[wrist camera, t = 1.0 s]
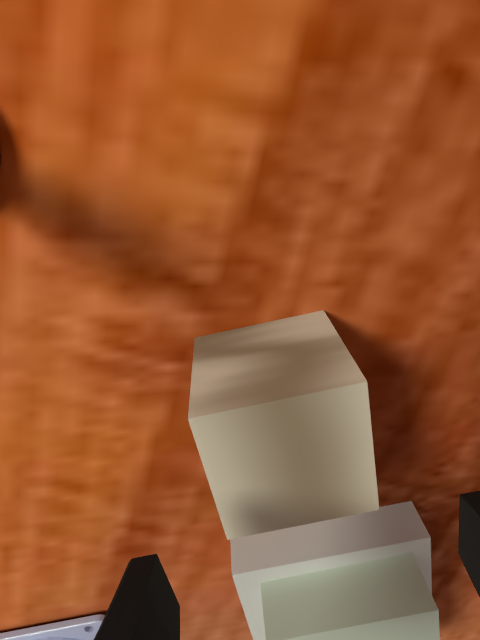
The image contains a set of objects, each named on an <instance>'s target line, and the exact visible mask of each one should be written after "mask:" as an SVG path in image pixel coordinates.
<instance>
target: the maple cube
mask: <svg viewBox="0 0 480 640" xmlns="http://www.w3.org/2000/svg"><path fill="white" fill-rule="evenodd" d="M188 421H189V424H190V427H191V430H192V433H193V436H194V439H195V442H196V445H197V448H198V451H199V454H200V457H201V460H202V464H203V467H204V470H205V473H206V476H207V479H208V482H209V485H210V488H211V491H212V494H213V497H214V500H215V503H216V506H217V510H218V513H219V516H220V519H221V522H222V525H223V528H224V531H225V534H226V537H227V540H230V539H235V538H240V537H245V536H250V535H255V534H260V533H265V532H270V531H275V530H280V529H285V528H290V527H295V526H300V525H305V524H310V523H315V522H320V521H325V520H331V519H336V518H341V517H346V516H351V515H356V514H361V513H366V512H371V511H376V510H379V501H378V490H377V480H376V469H375V459H374V448H373V437H372V427H371V416H370V405H369V395H368V384H367V380H366V379H365V377H364V375H363V374H362V372H361V371H360V369H359V367H358V366H357V364H356V362H355V361H354V359H353V357H352V356H351V354H350V353H349V351H348V349H347V348H346V346H345V344H344V343H343V341H342V339H341V338H340V336H339V335H338V333H337V331H336V330H335V328H334V326H333V325H332V323H331V321H330V320H329V318H328V317H327V315H326V313H325V312H324V310H322V311H318V312H313V313H308V314H304V315H299V316H294V317H290V318H285V319H280V320H276V321H271V322H266V323H262V324H257V325H252V326H248V327H243V328H238V329H234V330H229V331H224V332H220V333H215V334H210V335H206V336H201V337H196V338H195V342H194V354H193V366H192V378H191V389H190V401H189V413H188Z"/></svg>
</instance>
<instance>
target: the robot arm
mask: <svg viewBox="0 0 480 640" xmlns="http://www.w3.org/2000/svg"><path fill="white" fill-rule="evenodd" d="M458 553H459V555H460V557H461V559H462V561H463V564H464V566H465V568H466V570H467V572H468V574H469V576H470V578H471V581H472V583H473V585H474V587H475V589H476V591H477V593H478V595H479V597H480V491H476V492H471V493H466V494H461V495H460V507H459V551H458ZM0 640H180V605H179V603H178V601H177V599H176V596H175V594H174V592H173V590H172V587H171V585H170V583H169V581H168V578H167V576H166V574H165V572H164V569H163V567H162V565H161V562H160V560H159V558H158V556H157V554H153V555H148V556H143V557H138V558H133V559H131V560H130V562H129V563H128V566H127V568H126V570H125V572H124V575H123V577H122V579H121V582H120V584H119V586H118V588H117V591H116V593H115V595H114V597H113V599H112V602H111V604H110V606H109V608H108V610H107V613H106V615H103V614H97V615H92V616H87V617H81V618H76V619H71V620H66V621H61V622H56V623H50V624H45V625H40V626H35V627H30V628H24V629H19V630H14V631H9V632H4V633H0Z"/></svg>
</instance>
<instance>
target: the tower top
mask: <svg viewBox="0 0 480 640" xmlns="http://www.w3.org/2000/svg"><path fill="white" fill-rule="evenodd" d="M260 586H261V596H262V606H263V616H264V626H265V636H266V640H440V632H439V610H438V607H437V605H436V603H435V601H434V599H433V597H432V595H431V592H430V590H429V588H428V586H427V584H426V582H425V580H424V577H423V575H422V573H421V571H420V569H419V567H418V565H417V562H416V560H415V558H414V556H413V554H412V553H407V554H402V555H397V556H392V557H387V558H381V559H376V560H371V561H366V562H361V563H356V564H351V565H346V566H341V567H336V568H331V569H326V570H321V571H316V572H311V573H306V574H301V575H296V576H291V577H286V578H281V579H276V580H271V581H266V582H261V583H260Z"/></svg>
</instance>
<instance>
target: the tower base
mask: <svg viewBox="0 0 480 640" xmlns="http://www.w3.org/2000/svg"><path fill="white" fill-rule="evenodd" d="M407 553H412V554H413V556H414V558H415V560H416V562H417V565H418V567H419V569H420V571H421V573H422V575H423V577H424V580H425V582H426V584H427V586H428V588H429V590H430V592H431V595H432V575H431V537H430V535H429V533H428V531H427V529H426V527H425V526H424V524H423V522H422V520H421V518H420V516H419V514H418V512H417V510H416V509H415V507H414V505H413V503H412V501H408V502H403V503H398V504H393V505H388V506H383V507H379V510H376V511H371V512H366V513H361V514H356V515H351V516H346V517H341V518H336V519H331V520H325V521H320V522H315V523H310V524H305V525H300V526H295V527H290V528H285V529H280V530H275V531H270V532H265V533H260V534H255V535H250V536H245V537H240V538H235V539H231V564H232V577H233V580H234V583H235V586H236V589H237V592H238V595H239V598H240V601H241V604H242V607H243V610H244V613H245V616H246V619H247V622H248V625H249V628H250V631H251V634H252V637H253V640H266V636H265V626H264V616H263V606H262V596H261V586H260V583H261V582H266V581H271V580H276V579H281V578H286V577H291V576H296V575H301V574H306V573H311V572H316V571H321V570H326V569H331V568H336V567H341V566H346V565H351V564H356V563H361V562H366V561H371V560H376V559H381V558H387V557H392V556H397V555H402V554H407Z"/></svg>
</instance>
